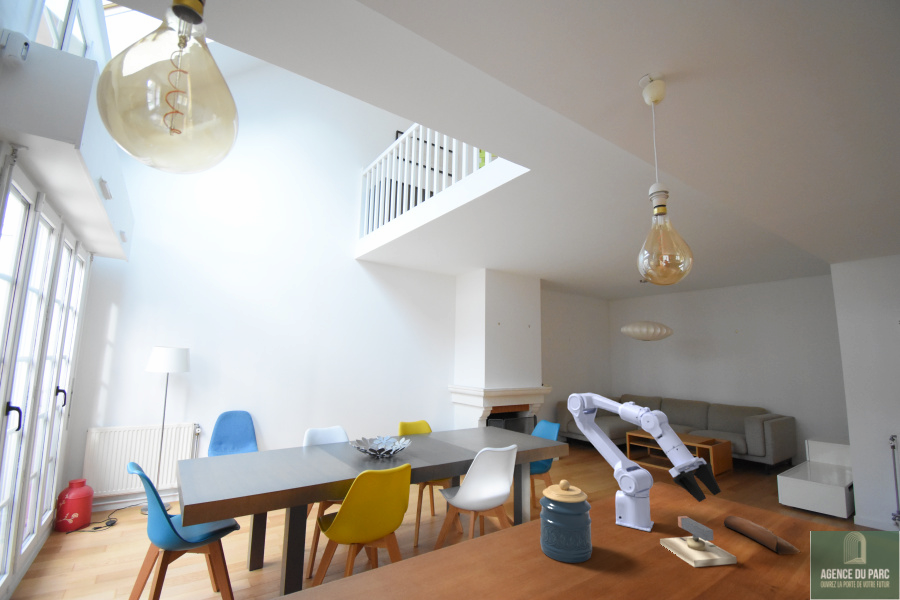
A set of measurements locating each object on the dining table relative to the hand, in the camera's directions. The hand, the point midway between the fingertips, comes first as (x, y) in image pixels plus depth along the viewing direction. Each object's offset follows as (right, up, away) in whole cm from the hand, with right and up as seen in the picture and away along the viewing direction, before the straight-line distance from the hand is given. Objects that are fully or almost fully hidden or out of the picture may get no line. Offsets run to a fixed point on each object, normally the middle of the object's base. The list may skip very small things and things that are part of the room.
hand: (710, 496), depth 109 cm
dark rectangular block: (-5, -10, -2) cm, 12 cm away
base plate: (-5, -13, -3) cm, 15 cm away
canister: (-39, -13, -3) cm, 41 cm away
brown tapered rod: (+18, -16, +6) cm, 25 cm away
